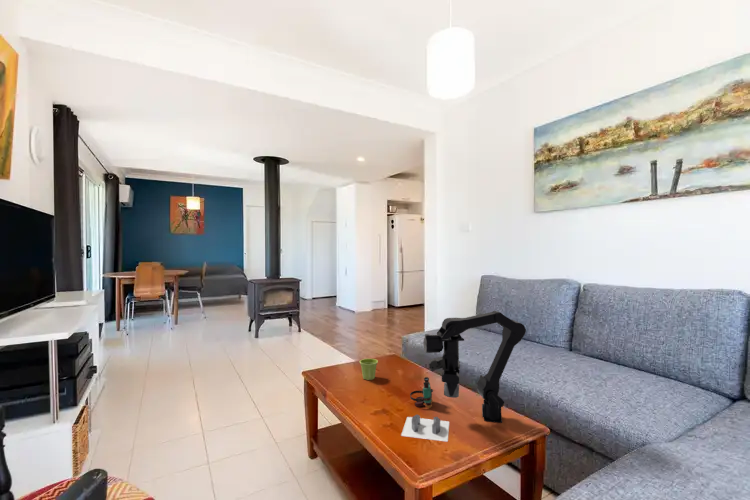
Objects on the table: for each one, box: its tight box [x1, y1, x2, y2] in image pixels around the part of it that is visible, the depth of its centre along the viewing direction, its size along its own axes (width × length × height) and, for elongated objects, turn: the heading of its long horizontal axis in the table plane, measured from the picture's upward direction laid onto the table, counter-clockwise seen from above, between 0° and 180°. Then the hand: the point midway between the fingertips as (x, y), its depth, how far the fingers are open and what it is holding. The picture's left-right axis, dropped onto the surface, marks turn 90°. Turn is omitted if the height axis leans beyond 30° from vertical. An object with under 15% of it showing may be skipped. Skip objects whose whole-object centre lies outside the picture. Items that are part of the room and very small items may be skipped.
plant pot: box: [359, 358, 379, 381], centre depth 174 cm, size 9×9×9 cm
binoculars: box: [409, 376, 434, 409], centre depth 143 cm, size 9×11×10 cm
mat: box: [400, 416, 450, 443], centre depth 123 cm, size 16×14×1 cm
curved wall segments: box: [411, 414, 441, 435], centre depth 123 cm, size 10×7×3 cm
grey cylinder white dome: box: [443, 382, 460, 399], centre depth 130 cm, size 6×6×4 cm
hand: (451, 392), depth 129 cm, fingers closed on grey cylinder white dome, 6 cm apart
